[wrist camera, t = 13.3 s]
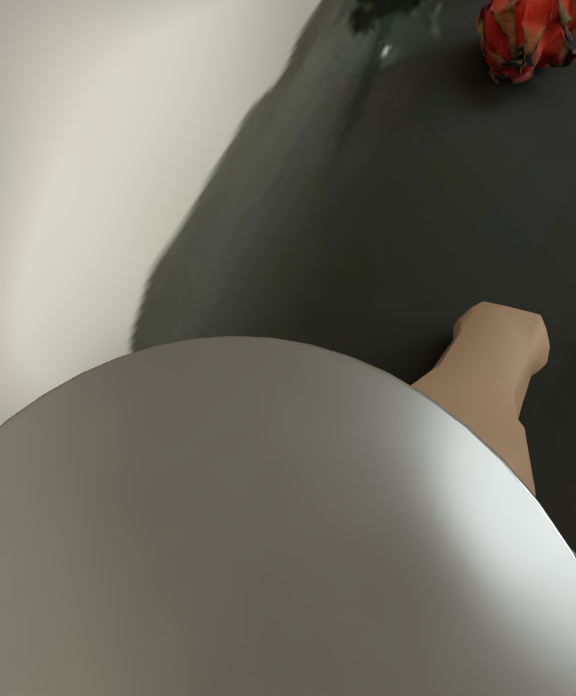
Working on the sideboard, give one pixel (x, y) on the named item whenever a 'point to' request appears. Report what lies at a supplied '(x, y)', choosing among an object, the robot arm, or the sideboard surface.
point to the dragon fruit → (526, 36)
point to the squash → (491, 377)
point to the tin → (270, 537)
